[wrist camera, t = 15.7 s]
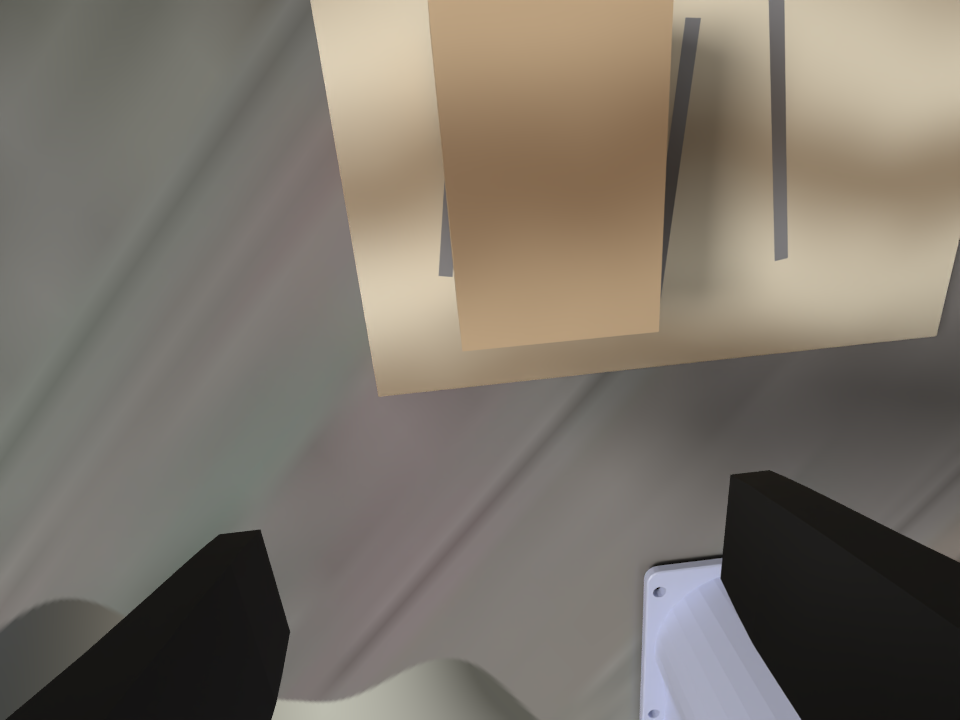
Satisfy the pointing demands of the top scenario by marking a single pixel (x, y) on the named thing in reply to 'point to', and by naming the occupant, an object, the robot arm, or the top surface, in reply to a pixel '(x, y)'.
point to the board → (685, 186)
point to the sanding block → (553, 164)
